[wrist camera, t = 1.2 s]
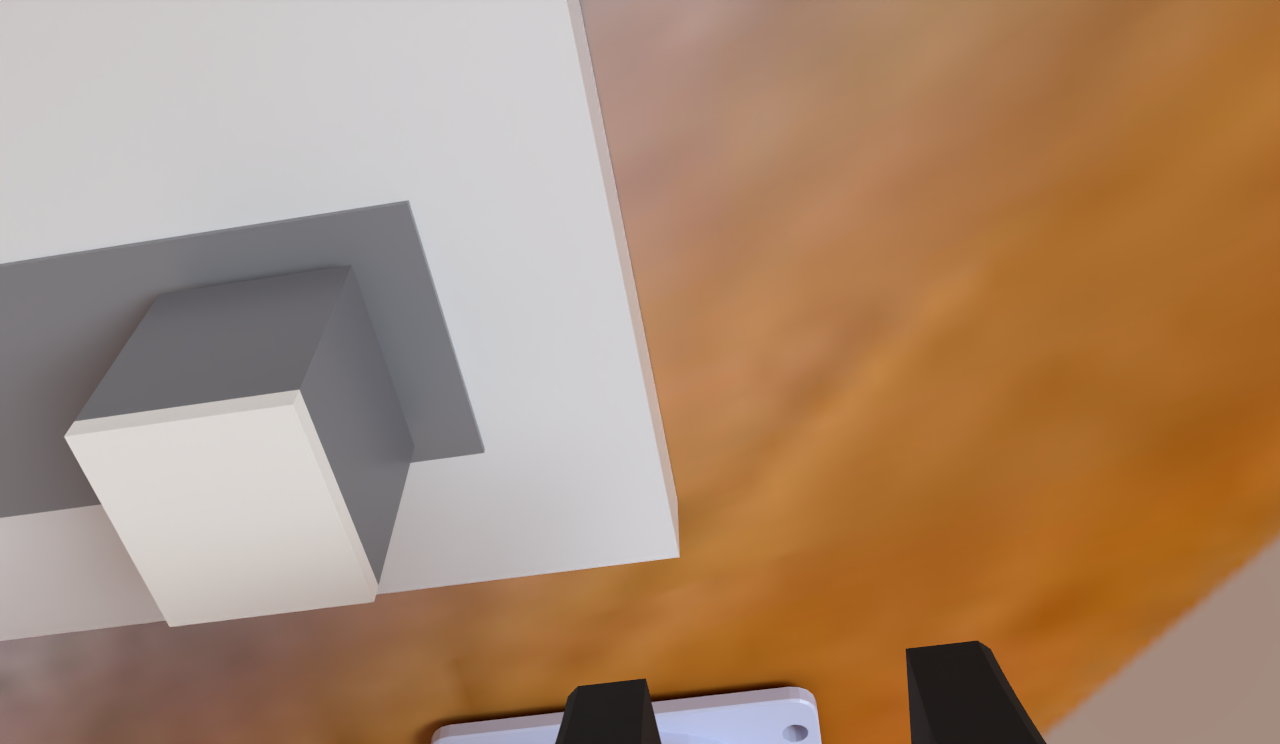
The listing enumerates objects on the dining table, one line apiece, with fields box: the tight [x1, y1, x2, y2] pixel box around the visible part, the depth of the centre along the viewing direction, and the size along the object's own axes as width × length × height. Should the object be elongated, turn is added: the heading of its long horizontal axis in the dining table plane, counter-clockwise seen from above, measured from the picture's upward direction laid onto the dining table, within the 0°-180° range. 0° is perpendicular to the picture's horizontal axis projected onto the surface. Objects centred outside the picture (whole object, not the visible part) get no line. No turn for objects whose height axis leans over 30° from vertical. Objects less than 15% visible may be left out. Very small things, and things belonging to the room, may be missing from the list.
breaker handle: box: [64, 265, 415, 627], centre depth 16 cm, size 3×3×3 cm
